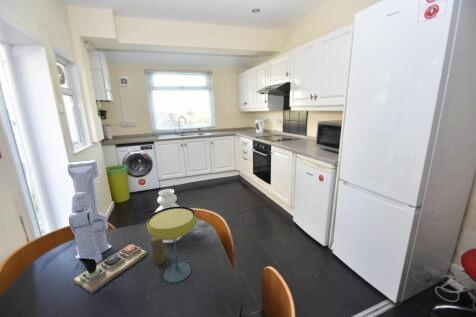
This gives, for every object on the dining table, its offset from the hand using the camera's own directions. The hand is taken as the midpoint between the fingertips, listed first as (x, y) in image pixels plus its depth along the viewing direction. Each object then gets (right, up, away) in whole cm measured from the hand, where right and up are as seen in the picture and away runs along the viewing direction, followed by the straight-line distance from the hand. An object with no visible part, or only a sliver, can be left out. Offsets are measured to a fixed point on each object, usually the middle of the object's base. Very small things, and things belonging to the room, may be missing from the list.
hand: (92, 271), depth 82 cm
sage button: (0, -2, 0) cm, 2 cm away
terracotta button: (+8, +1, +14) cm, 16 cm away
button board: (+4, -2, +8) cm, 9 cm away
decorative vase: (+22, +3, +29) cm, 37 cm away
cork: (+22, -1, +11) cm, 25 cm away
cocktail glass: (+32, -2, +4) cm, 33 cm away
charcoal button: (+4, 0, +7) cm, 8 cm away
